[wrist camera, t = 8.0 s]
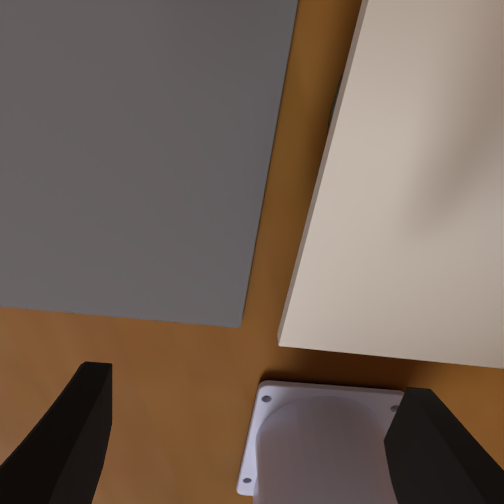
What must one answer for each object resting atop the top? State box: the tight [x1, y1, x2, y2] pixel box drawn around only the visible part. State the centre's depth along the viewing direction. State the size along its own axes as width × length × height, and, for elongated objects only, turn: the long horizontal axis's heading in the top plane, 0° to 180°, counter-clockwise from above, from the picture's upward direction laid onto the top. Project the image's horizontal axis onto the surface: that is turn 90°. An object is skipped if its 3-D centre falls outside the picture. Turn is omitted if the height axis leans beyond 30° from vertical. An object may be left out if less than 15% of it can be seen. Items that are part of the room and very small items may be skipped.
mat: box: [0, 0, 298, 328], centre depth 18 cm, size 17×17×1 cm
